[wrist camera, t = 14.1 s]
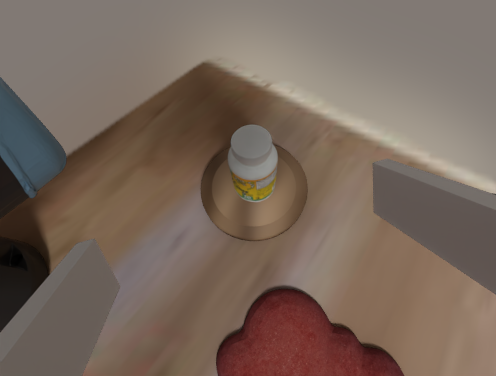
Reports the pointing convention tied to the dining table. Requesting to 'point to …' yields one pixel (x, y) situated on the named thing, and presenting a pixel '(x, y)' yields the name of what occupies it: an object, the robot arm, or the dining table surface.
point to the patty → (297, 343)
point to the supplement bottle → (253, 163)
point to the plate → (254, 213)
